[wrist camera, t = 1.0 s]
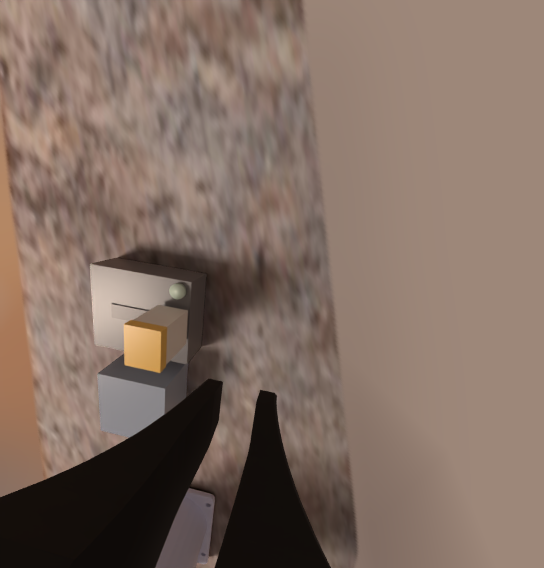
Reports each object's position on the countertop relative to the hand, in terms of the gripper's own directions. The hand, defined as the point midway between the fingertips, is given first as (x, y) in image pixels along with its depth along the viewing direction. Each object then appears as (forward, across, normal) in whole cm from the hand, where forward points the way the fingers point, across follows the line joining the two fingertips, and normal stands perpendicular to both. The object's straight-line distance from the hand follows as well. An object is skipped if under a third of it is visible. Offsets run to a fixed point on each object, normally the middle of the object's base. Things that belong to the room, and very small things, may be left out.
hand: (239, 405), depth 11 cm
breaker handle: (+6, +6, 0) cm, 8 cm away
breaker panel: (+8, +8, 0) cm, 12 cm away
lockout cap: (+8, +8, +7) cm, 14 cm away
